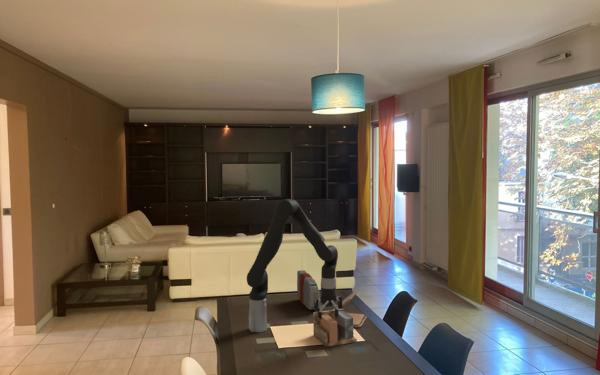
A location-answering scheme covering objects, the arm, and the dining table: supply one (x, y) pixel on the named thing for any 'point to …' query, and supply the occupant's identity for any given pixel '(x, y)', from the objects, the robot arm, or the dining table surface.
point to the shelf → (324, 334)
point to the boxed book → (329, 328)
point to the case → (357, 318)
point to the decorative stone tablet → (307, 289)
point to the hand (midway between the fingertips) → (328, 318)
